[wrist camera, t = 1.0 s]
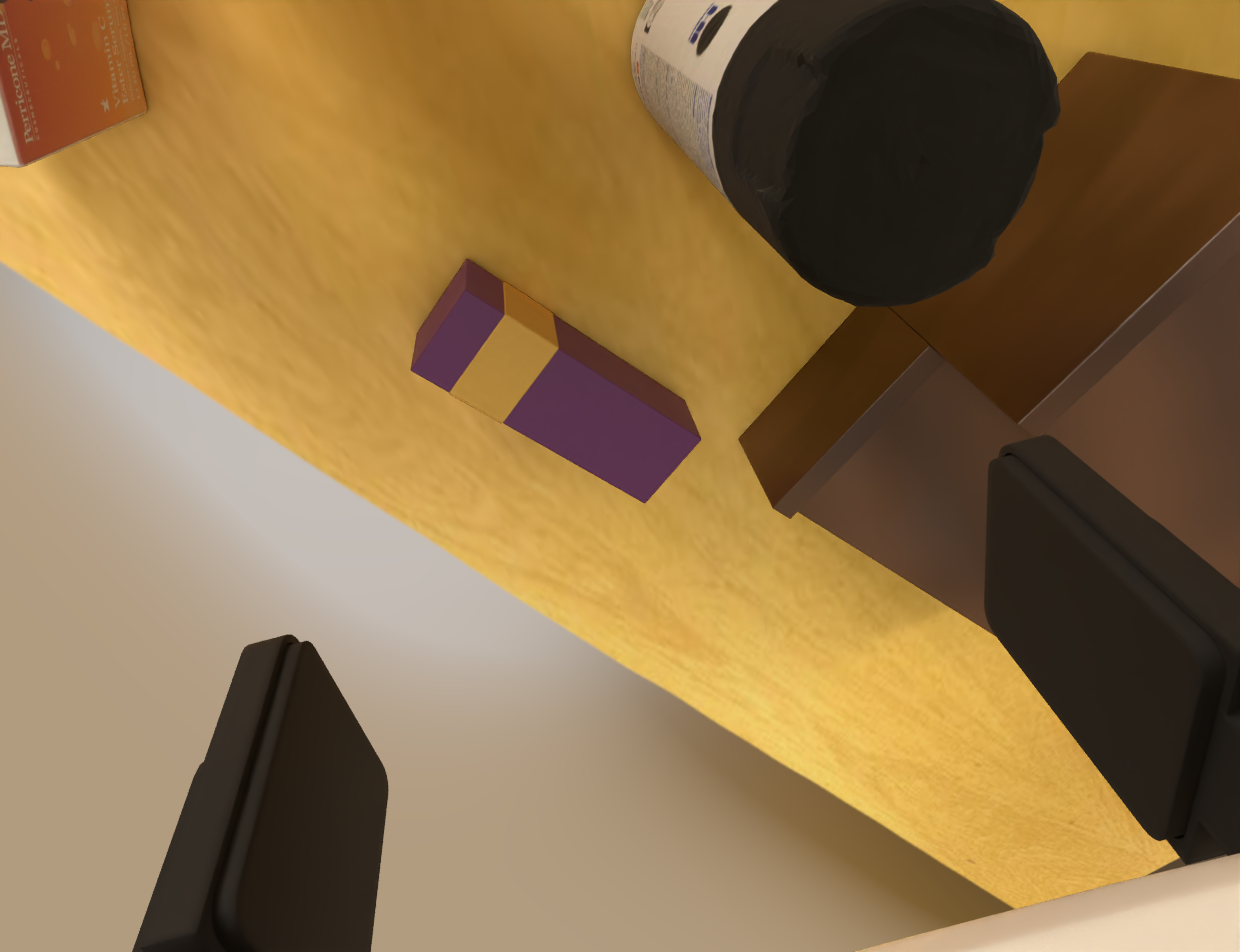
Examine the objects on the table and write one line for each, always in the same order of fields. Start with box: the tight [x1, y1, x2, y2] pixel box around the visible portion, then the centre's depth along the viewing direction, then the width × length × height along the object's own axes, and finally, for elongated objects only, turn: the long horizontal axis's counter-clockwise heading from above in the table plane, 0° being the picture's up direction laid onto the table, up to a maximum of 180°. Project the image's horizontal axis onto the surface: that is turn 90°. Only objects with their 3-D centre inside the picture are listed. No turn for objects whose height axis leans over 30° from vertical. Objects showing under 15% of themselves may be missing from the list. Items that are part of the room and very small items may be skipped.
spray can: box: [631, 0, 1061, 307], centre depth 26 cm, size 7×7×20 cm
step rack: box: [739, 52, 1240, 636], centre depth 38 cm, size 23×21×15 cm
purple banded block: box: [411, 259, 701, 503], centre depth 39 cm, size 4×13×4 cm, turn 53°
